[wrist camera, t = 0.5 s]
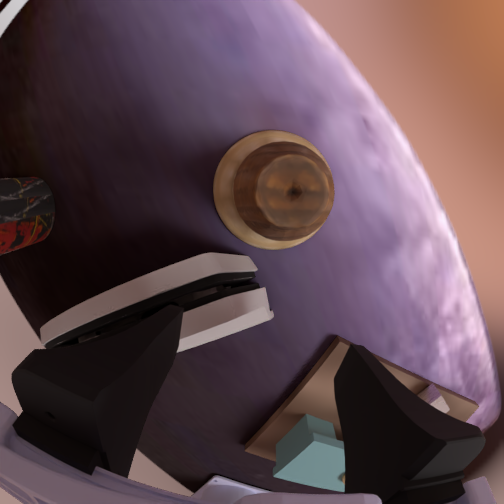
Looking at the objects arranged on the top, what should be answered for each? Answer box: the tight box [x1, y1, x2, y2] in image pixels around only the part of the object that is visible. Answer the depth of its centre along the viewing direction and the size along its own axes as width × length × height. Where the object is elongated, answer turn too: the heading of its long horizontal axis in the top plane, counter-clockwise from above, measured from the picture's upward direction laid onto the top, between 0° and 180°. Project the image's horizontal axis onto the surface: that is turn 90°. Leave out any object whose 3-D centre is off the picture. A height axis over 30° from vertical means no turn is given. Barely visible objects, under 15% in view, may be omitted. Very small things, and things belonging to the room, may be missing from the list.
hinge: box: [40, 253, 274, 352], centre depth 19 cm, size 17×5×10 cm, turn 114°
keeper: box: [273, 414, 345, 492], centre depth 22 cm, size 6×12×4 cm, turn 60°
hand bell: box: [213, 130, 334, 250], centre depth 13 cm, size 8×8×16 cm
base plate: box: [245, 335, 479, 461], centre depth 25 cm, size 15×22×1 cm
